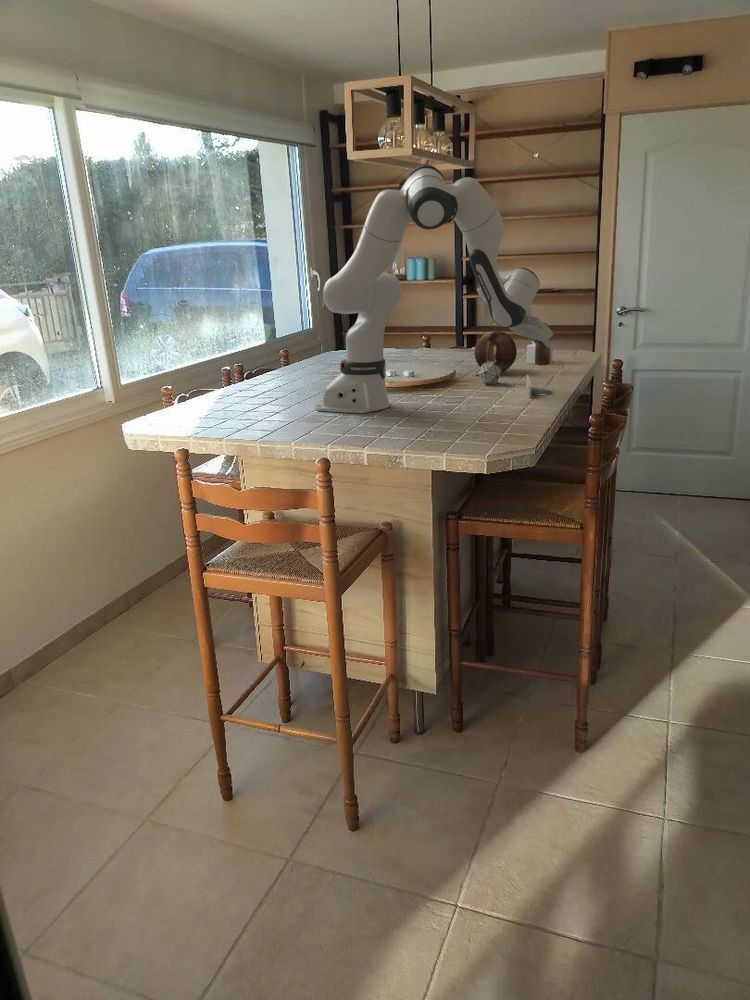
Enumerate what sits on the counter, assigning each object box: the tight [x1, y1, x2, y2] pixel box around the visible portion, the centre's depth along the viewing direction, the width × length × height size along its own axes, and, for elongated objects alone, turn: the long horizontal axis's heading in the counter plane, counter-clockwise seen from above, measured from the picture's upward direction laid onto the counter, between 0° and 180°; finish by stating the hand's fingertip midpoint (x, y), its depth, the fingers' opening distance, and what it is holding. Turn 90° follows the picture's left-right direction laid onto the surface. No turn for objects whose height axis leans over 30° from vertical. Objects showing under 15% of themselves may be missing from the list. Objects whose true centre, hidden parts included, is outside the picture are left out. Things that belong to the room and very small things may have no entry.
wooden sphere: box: [474, 330, 517, 373], centre depth 274 cm, size 15×15×15 cm
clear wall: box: [525, 374, 532, 399], centre depth 242 cm, size 1×18×4 cm, turn 172°
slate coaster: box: [531, 388, 552, 395], centre depth 242 cm, size 7×7×1 cm
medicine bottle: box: [525, 340, 554, 366], centre depth 291 cm, size 7×7×12 cm
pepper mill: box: [535, 321, 552, 366], centre depth 236 cm, size 5×5×13 cm
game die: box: [475, 360, 505, 387], centre depth 256 cm, size 9×8×10 cm
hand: (544, 344), depth 237 cm, fingers closed on pepper mill, 5 cm apart
